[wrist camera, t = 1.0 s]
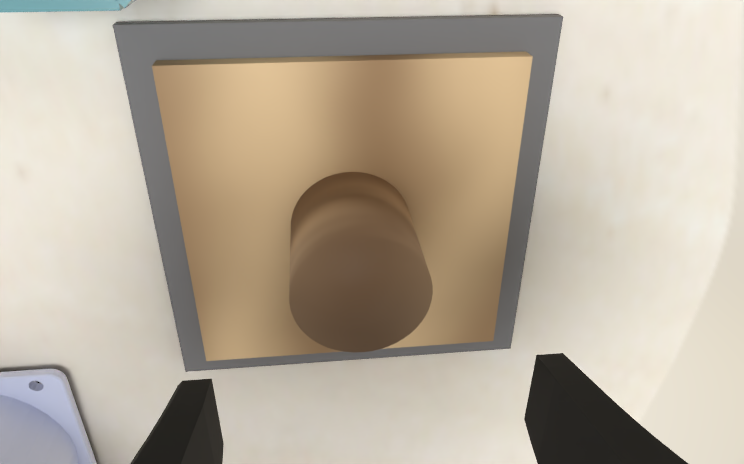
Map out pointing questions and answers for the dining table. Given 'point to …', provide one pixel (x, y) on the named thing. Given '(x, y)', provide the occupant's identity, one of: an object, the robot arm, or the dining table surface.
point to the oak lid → (344, 196)
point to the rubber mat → (330, 39)
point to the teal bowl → (62, 5)
